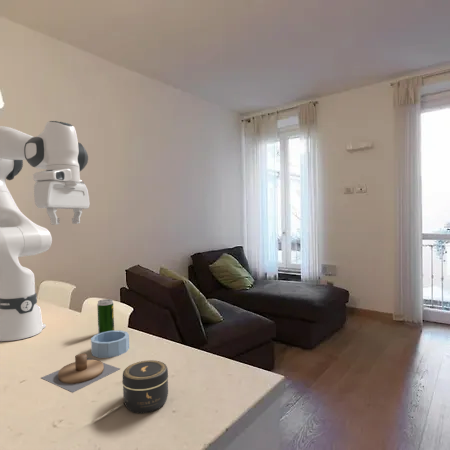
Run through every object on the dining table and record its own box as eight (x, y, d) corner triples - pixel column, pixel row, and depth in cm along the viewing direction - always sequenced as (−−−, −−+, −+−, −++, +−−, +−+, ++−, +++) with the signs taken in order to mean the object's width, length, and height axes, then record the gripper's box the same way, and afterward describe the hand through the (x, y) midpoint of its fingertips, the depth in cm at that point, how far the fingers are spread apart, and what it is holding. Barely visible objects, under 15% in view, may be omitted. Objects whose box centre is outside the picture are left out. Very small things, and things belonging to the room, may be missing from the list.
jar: (126, 420, 70) (125, 383, 69) (120, 396, 79) (119, 364, 79) (173, 408, 74) (172, 373, 73) (163, 387, 83) (162, 356, 83)
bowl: (84, 355, 103) (83, 339, 103) (113, 343, 112) (113, 328, 112) (107, 363, 97) (106, 345, 97) (136, 350, 106) (135, 334, 106)
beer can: (100, 337, 117) (99, 303, 117) (96, 333, 122) (95, 300, 121) (116, 334, 120) (115, 301, 120) (112, 330, 125) (110, 298, 124)
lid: (49, 376, 88) (48, 358, 88) (87, 360, 97) (86, 344, 97) (74, 387, 82) (74, 368, 82) (112, 369, 91) (111, 352, 91)
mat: (40, 380, 87) (40, 377, 87) (88, 360, 99) (88, 357, 99) (72, 395, 80) (72, 392, 80) (120, 371, 91) (120, 368, 91)
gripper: (76, 181, 110) (78, 223, 111) (28, 173, 90) (31, 225, 90) (93, 180, 109) (95, 222, 109) (49, 172, 89) (52, 224, 89)
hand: (66, 224), depth 100 cm, fingers open, 8 cm apart
